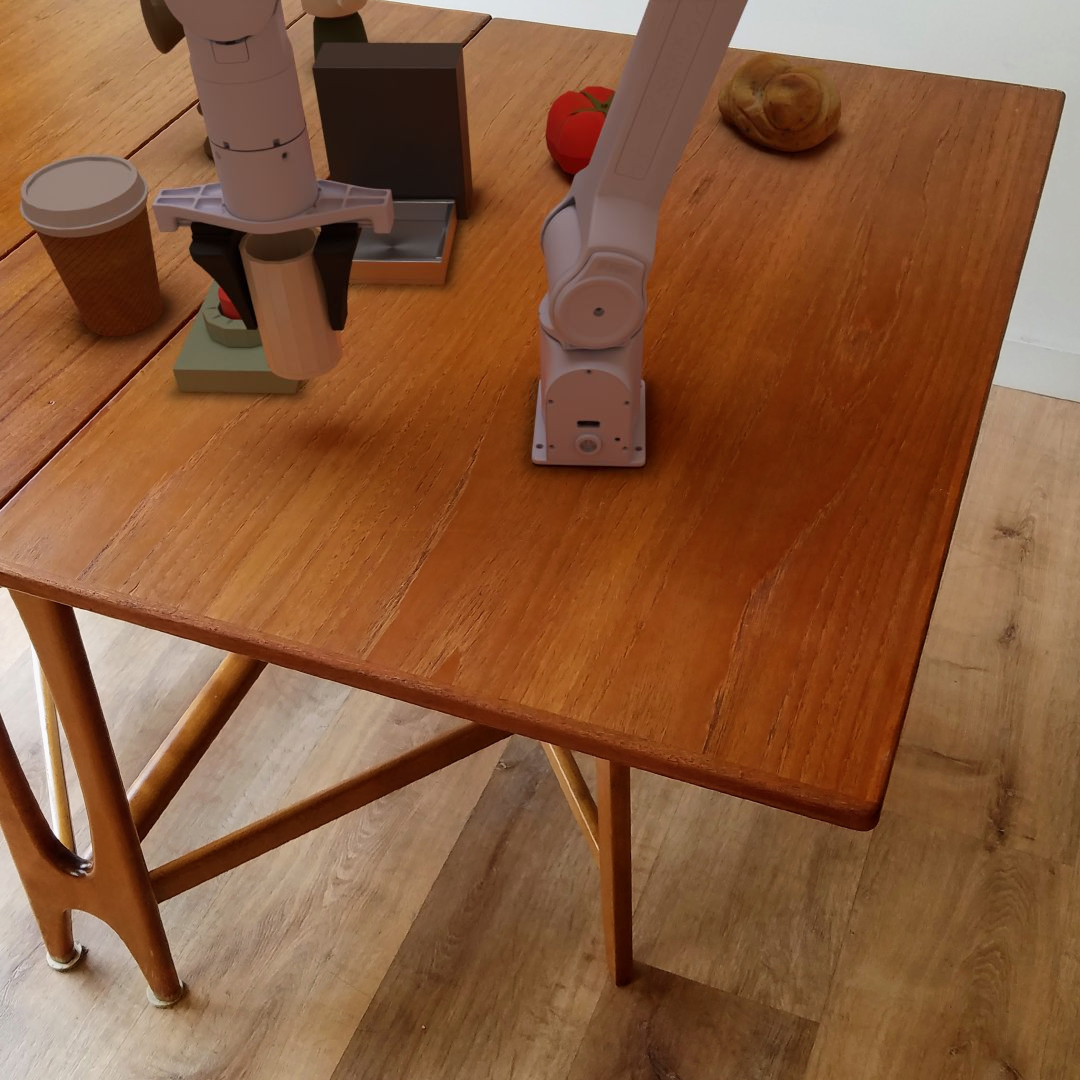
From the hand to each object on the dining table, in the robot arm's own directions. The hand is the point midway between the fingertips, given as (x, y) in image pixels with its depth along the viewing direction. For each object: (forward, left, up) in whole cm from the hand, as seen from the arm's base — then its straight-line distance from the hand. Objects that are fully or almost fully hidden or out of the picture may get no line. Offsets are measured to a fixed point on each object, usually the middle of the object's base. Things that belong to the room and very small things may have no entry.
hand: (298, 321), depth 77 cm
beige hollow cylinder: (0, 0, -3) cm, 3 cm away
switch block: (+10, +7, -10) cm, 16 cm away
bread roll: (+47, -37, -10) cm, 61 cm away
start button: (+10, +7, -6) cm, 14 cm away
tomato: (+40, -20, -10) cm, 46 cm away
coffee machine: (+32, -2, -10) cm, 34 cm away
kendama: (+42, +17, -10) cm, 47 cm away
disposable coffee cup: (+14, +19, -10) cm, 26 cm away
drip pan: (+24, -2, -10) cm, 26 cm away
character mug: (+61, +9, -10) cm, 63 cm away
